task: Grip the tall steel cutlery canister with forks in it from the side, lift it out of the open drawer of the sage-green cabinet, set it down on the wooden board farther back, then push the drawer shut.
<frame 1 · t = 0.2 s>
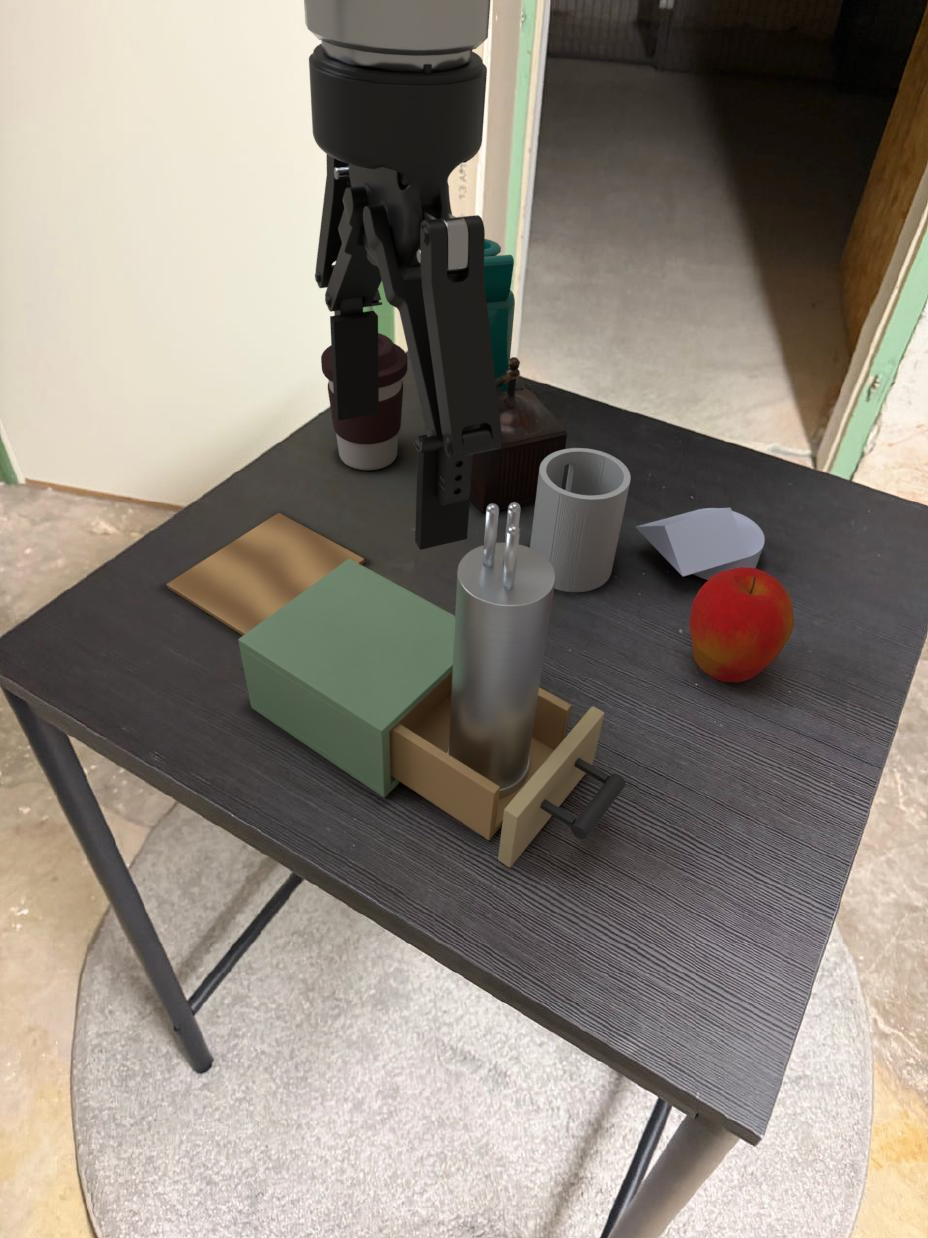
hand: (395, 472, 51), 32 cm above the table, tool pointing down, fingers open, 13 cm apart
cutlery canister: (487, 763, 73), point 2 cm above the table, touching drawer
apple: (722, 670, 85), on the table
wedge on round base: (700, 561, 97), on the table
cabinet: (367, 704, 79), on the table
teal bottle: (471, 409, 119), on the table
wooden board: (268, 575, 92), on the table
drawer: (504, 755, 70), point 4 cm above the table, slide at 11.0 cm, touching cutlery canister
manual coffee grinder: (483, 487, 105), on the table
coffee cup: (368, 457, 109), on the table
cup: (569, 566, 95), on the table
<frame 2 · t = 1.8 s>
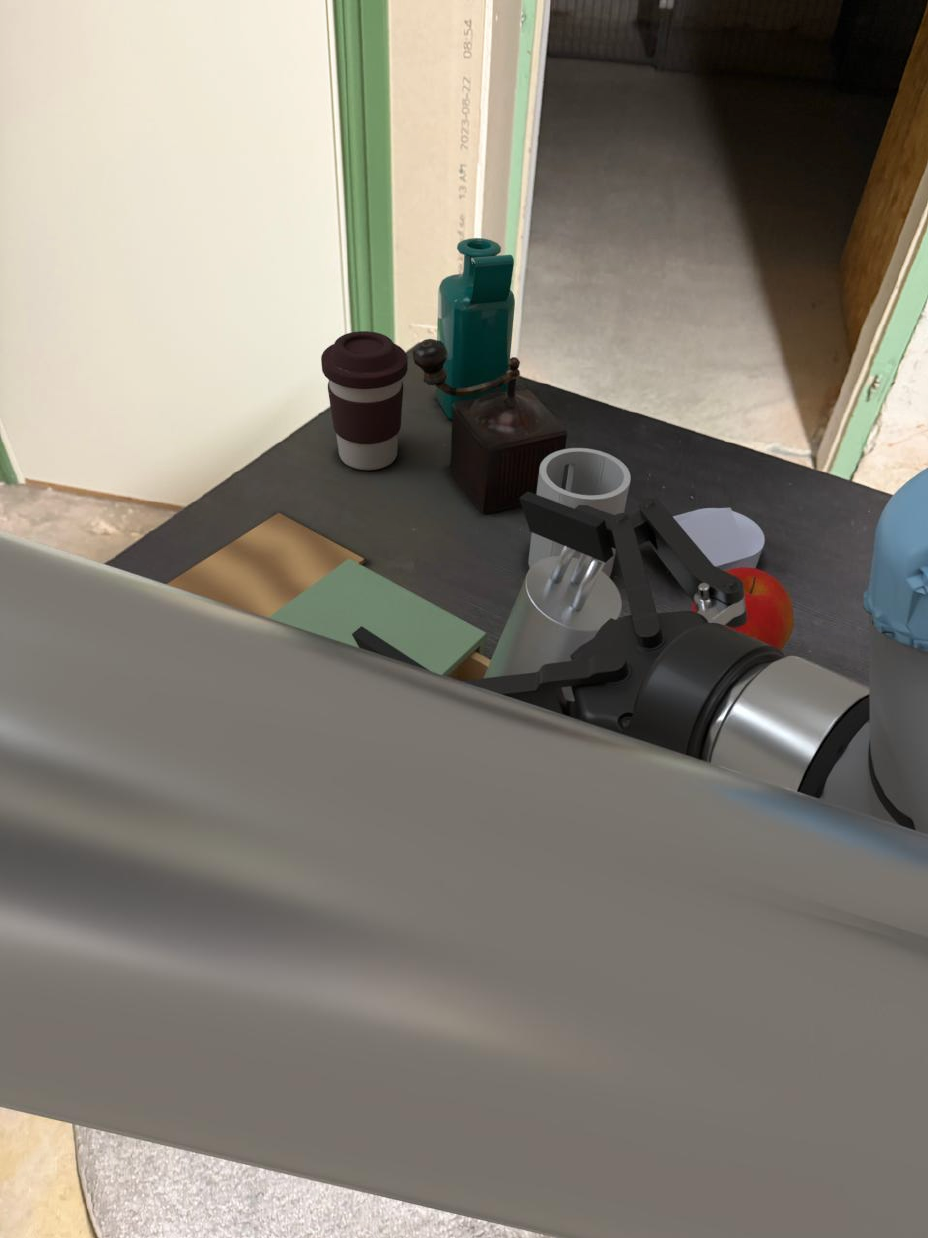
hand: (449, 575, 53), 26 cm above the table, tool horizontal, fingers open, 13 cm apart
cutlery canister: (492, 760, 72), point 3 cm above the table, tilted 12°, touching drawer, gripper
drawer: (507, 757, 70), point 4 cm above the table, slide at 11.3 cm, touching cutlery canister
everything else where it was.
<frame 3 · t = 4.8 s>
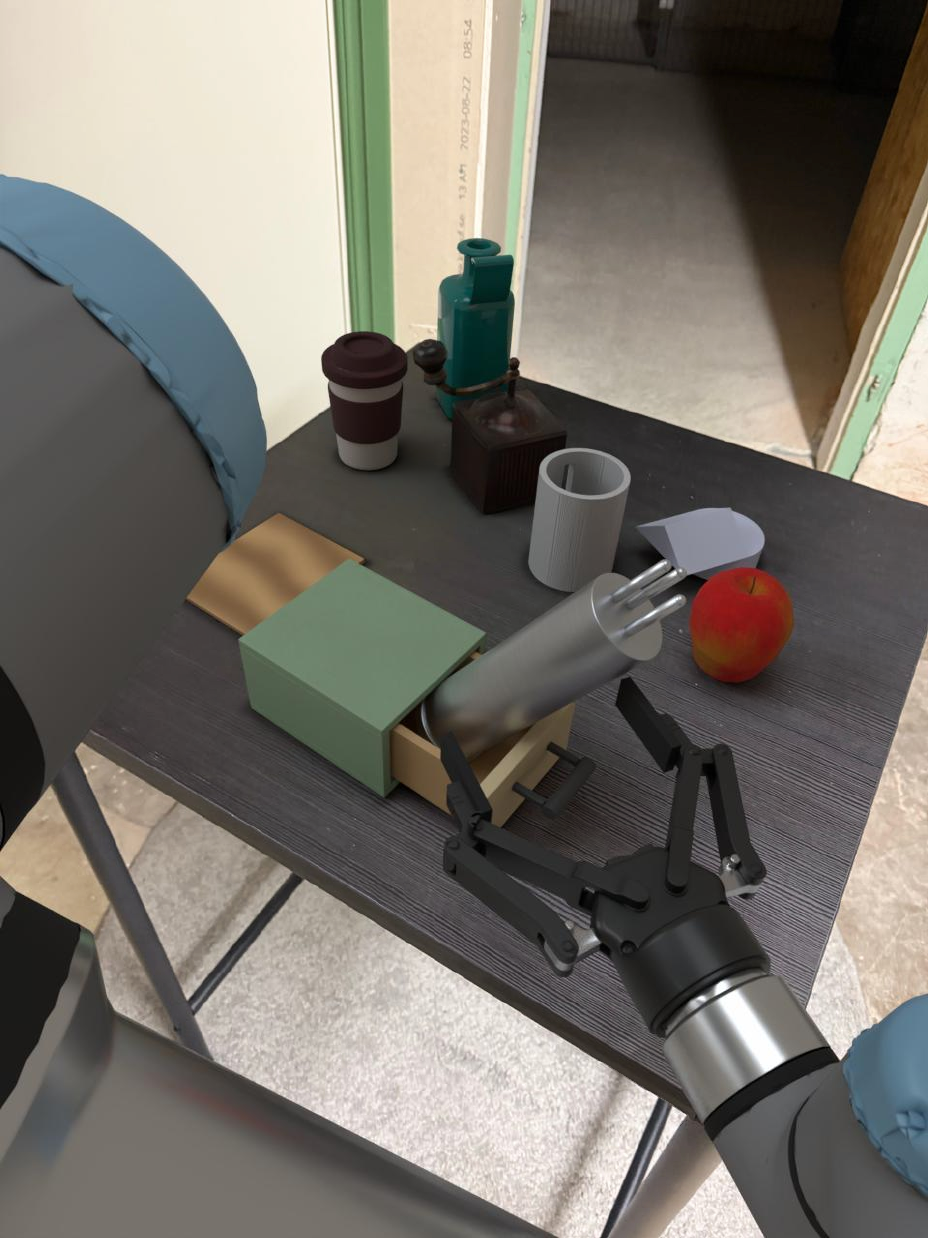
hand: (536, 716, 60), 15 cm above the table, tool horizontal, fingers open, 13 cm apart
cutlery canister: (449, 724, 73), point 4 cm above the table, tilted 36°, touching drawer, gripper
drawer: (478, 739, 71), point 4 cm above the table, slide at 8.4 cm, touching cutlery canister
everything else where it was.
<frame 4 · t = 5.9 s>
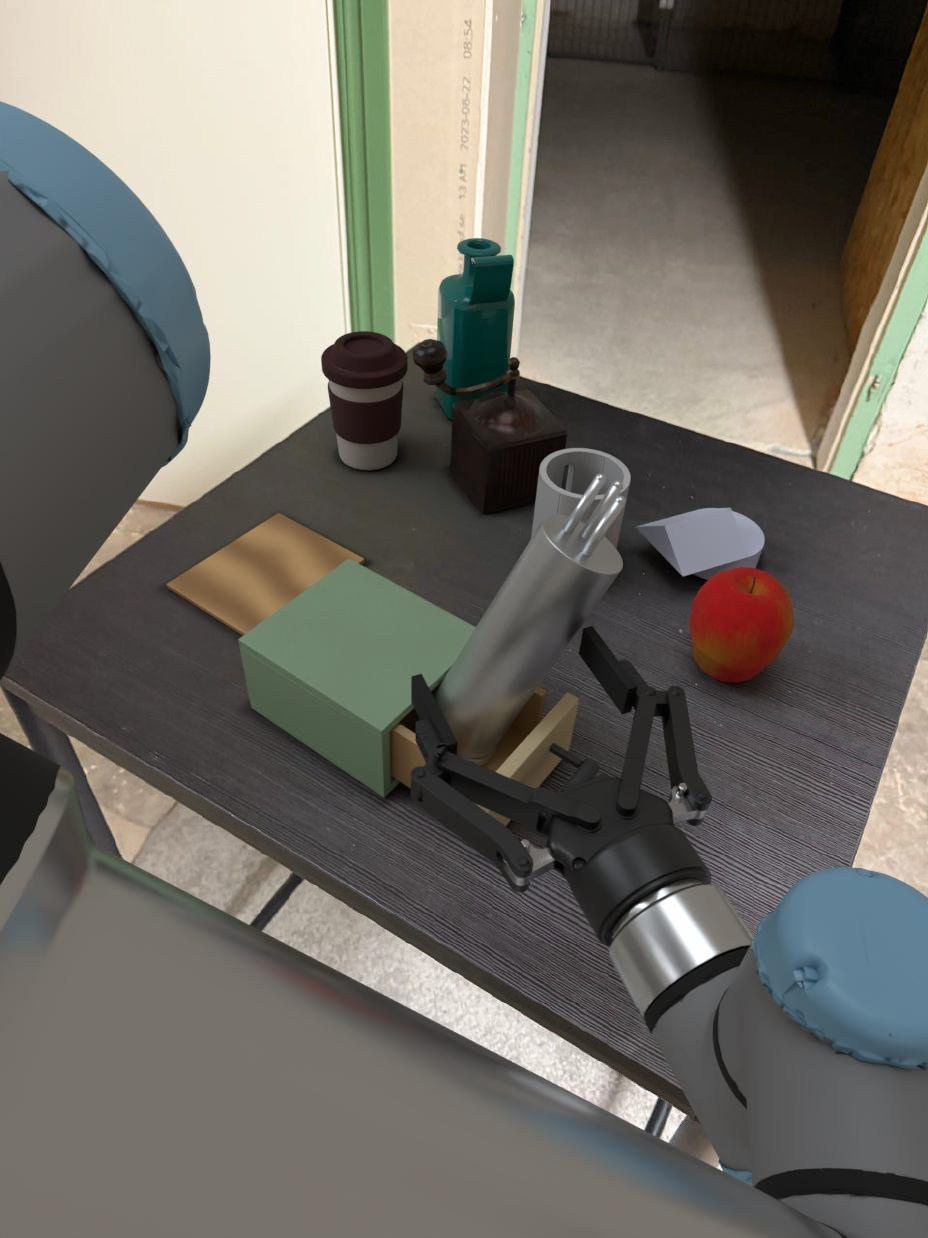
hand: (503, 662, 63), 15 cm above the table, tool horizontal, fingers open, 13 cm apart
cutlery canister: (454, 735, 73), point 4 cm above the table, tilted 25°, touching gripper
drawer: (480, 741, 71), point 4 cm above the table, slide at 8.6 cm
everything else where it was.
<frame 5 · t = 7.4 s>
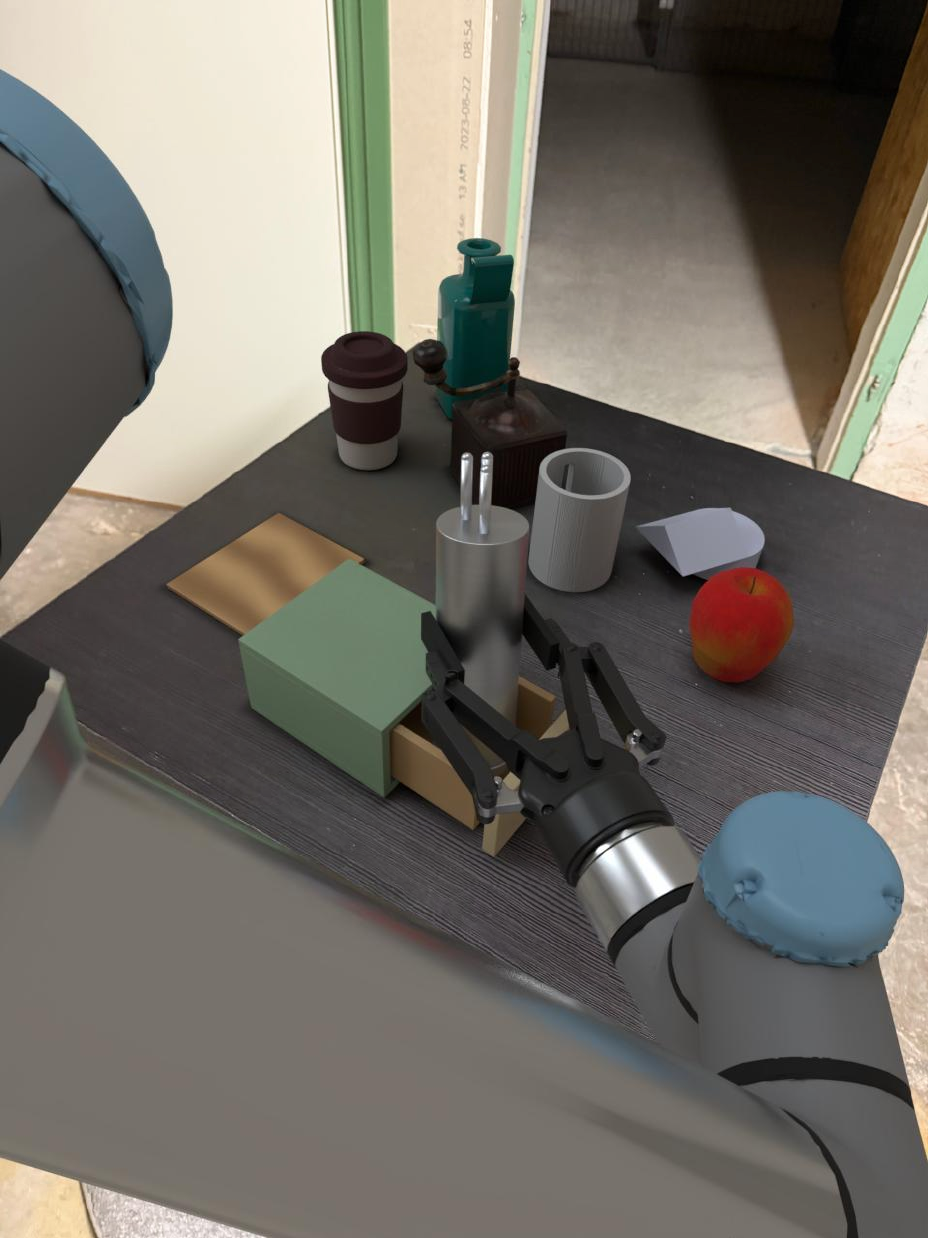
hand: (471, 613, 67), 15 cm above the table, tool horizontal, fingers closed on cutlery canister, 7 cm apart
cutlery canister: (474, 751, 72), point 3 cm above the table, tilted 12°, touching drawer, gripper
drawer: (489, 746, 71), point 4 cm above the table, slide at 9.5 cm, touching cutlery canister
everything else where it was.
when the fingers open (14 cm above the table, at t = 18.9 s): cutlery canister stays where it is, resting on wooden board.
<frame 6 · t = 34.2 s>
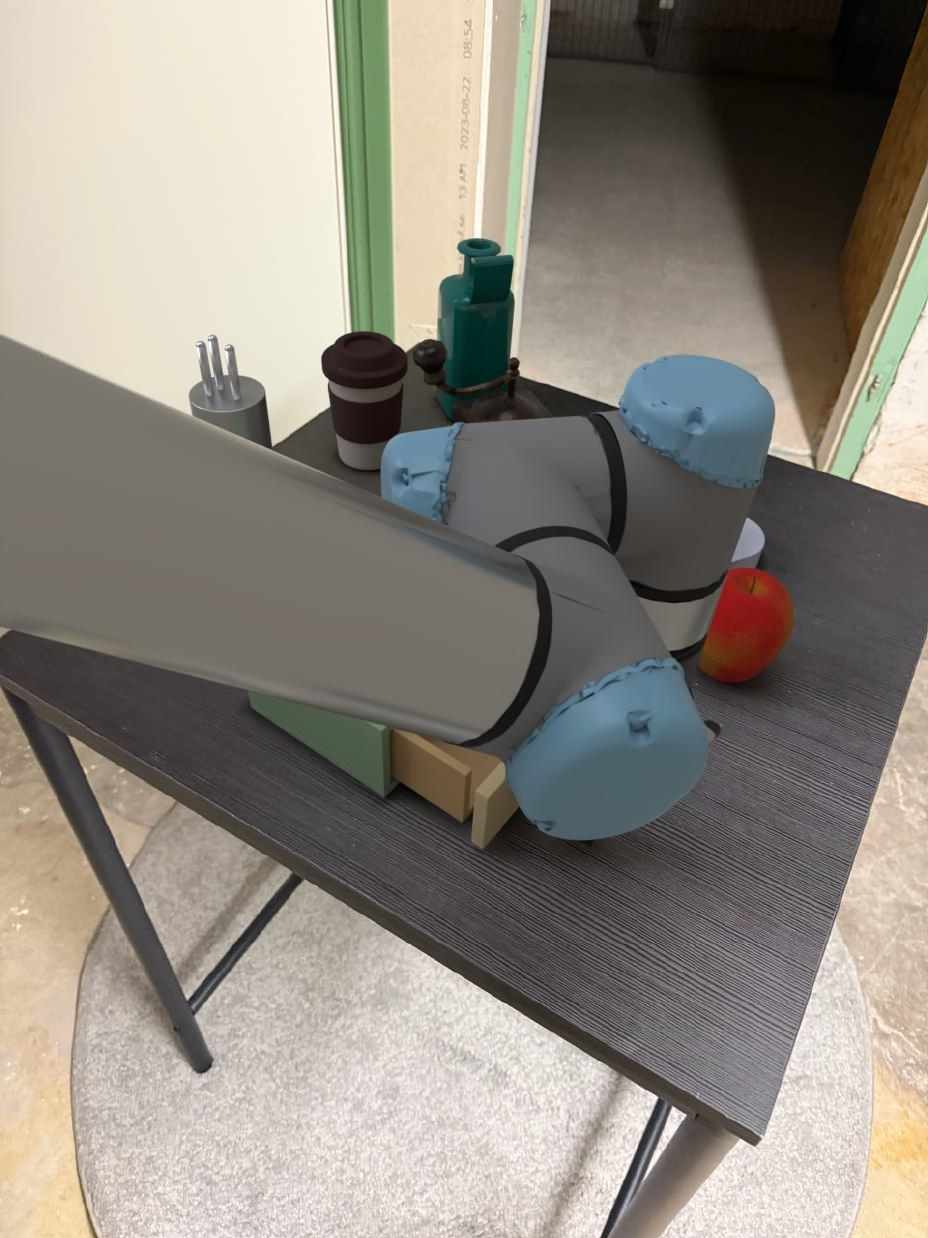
hand: (590, 831, 69), 2 cm above the table, tool pointing down, fingers closed
cutlery canister: (256, 573, 91), point 1 cm above the table, touching wooden board
drawer: (478, 740, 71), point 4 cm above the table, slide at 8.4 cm, touching gripper
everything else where it was.
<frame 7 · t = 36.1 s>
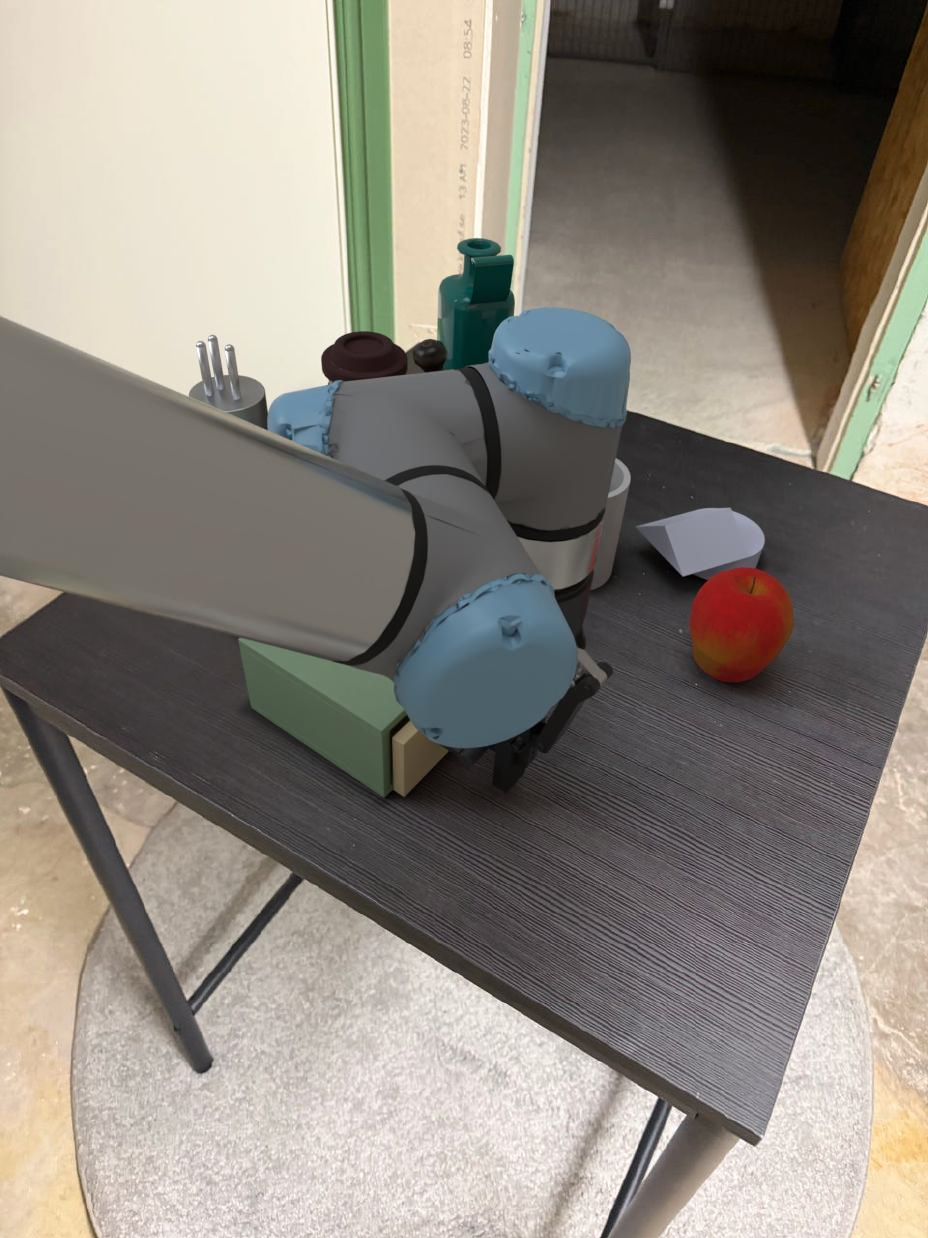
hand: (508, 778, 72), 2 cm above the table, tool pointing down, fingers closed
drawer: (403, 694, 75), point 4 cm above the table, slide at 0.5 cm, touching gripper
everything else where it was.
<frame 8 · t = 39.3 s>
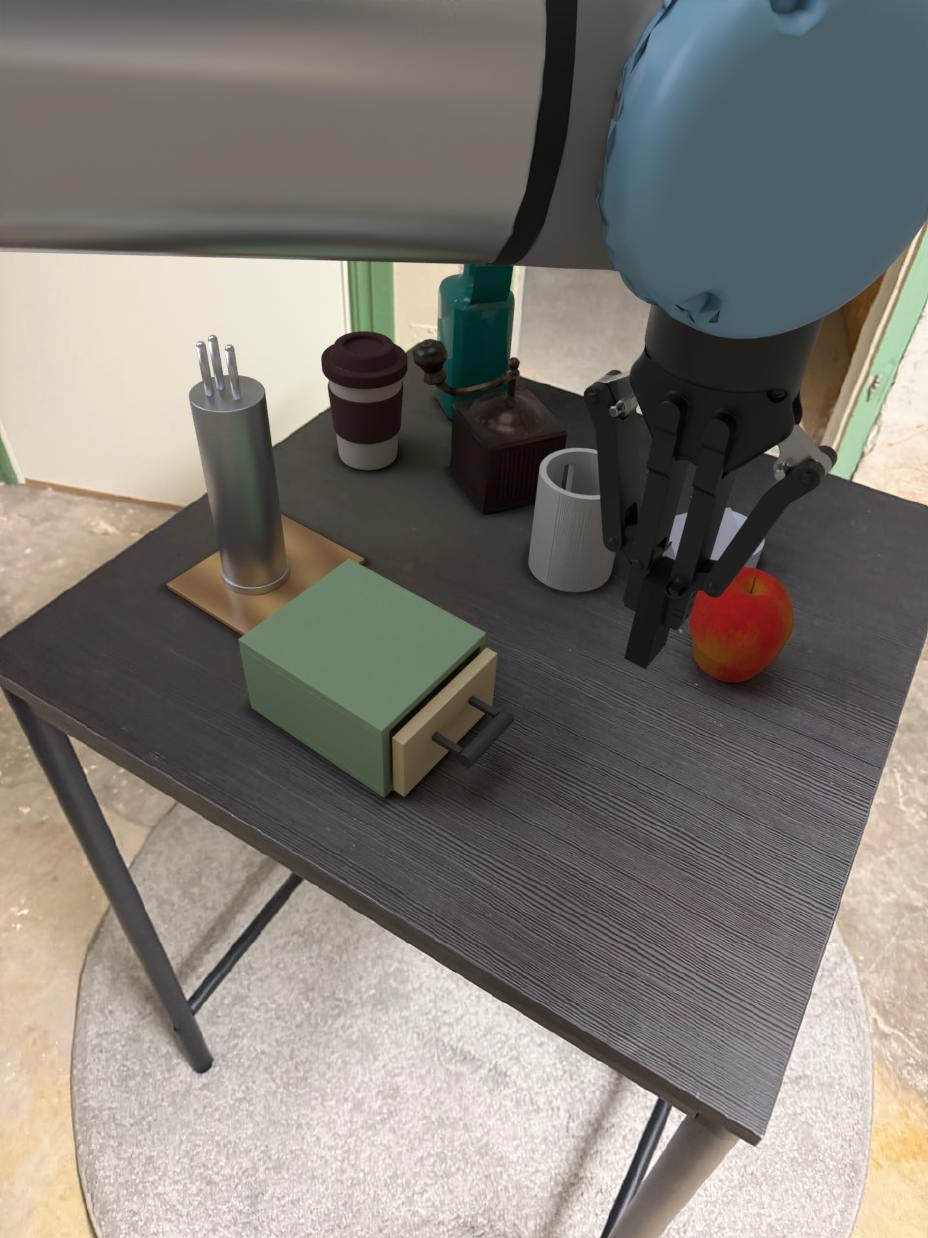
hand: (645, 651, 54), 22 cm above the table, tool pointing down, fingers closed
drawer: (403, 694, 75), point 4 cm above the table, slide at 0.5 cm
everything else where it was.
at the end: cutlery canister inside the target area on the wooden board (1.2 cm from its centre), point 0.6 cm above the wooden board's base; cutlery canister tilted 0°; drawer slide at 0.5 cm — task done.
